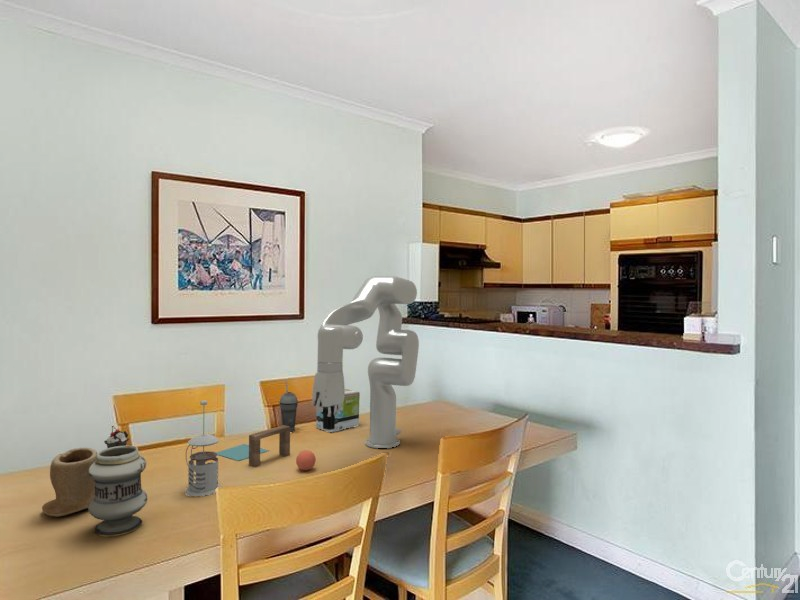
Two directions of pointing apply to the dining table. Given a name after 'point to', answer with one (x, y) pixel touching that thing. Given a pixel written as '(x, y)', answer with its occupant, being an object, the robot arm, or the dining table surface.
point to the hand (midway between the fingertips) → (328, 428)
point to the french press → (202, 465)
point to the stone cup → (71, 482)
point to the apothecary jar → (117, 490)
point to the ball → (305, 460)
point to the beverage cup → (288, 409)
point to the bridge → (255, 438)
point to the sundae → (117, 439)
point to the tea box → (344, 413)
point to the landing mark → (238, 452)
